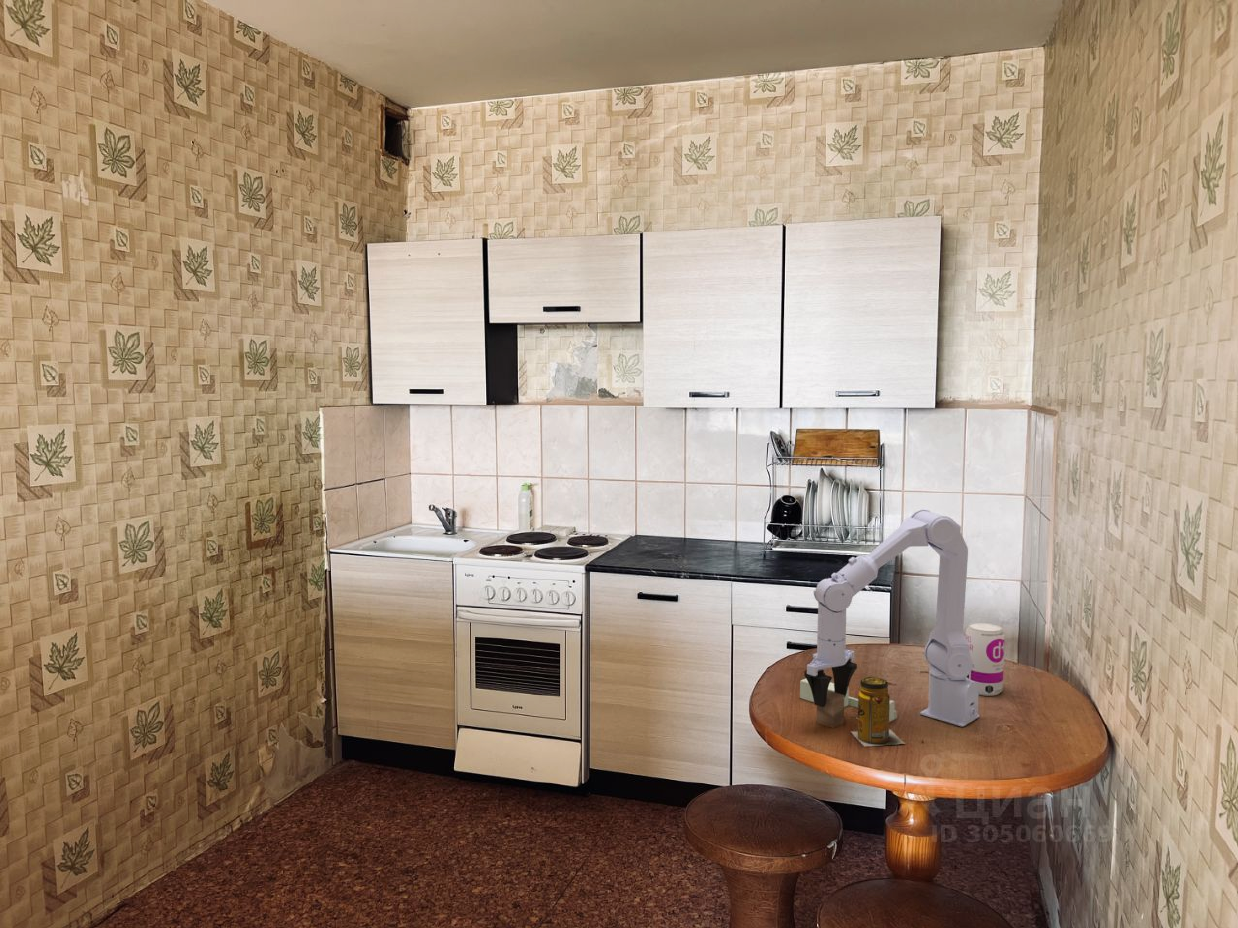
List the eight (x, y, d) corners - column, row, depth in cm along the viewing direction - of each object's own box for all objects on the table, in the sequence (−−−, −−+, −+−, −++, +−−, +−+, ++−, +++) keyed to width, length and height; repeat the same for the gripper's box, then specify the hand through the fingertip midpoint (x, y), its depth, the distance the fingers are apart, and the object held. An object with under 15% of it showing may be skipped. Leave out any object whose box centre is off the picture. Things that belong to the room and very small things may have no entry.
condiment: (850, 732, 175) (851, 675, 174) (890, 730, 176) (891, 673, 175) (863, 747, 168) (865, 687, 167) (905, 745, 169) (907, 686, 168)
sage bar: (896, 718, 182) (897, 699, 182) (884, 724, 179) (884, 706, 178) (812, 692, 197) (813, 675, 197) (799, 697, 194) (800, 680, 193)
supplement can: (1010, 693, 195) (1013, 629, 194) (982, 698, 192) (984, 633, 191) (983, 681, 203) (985, 619, 201) (956, 686, 200) (958, 623, 198)
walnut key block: (843, 722, 180) (844, 694, 179) (833, 728, 177) (833, 699, 177) (827, 717, 183) (827, 690, 182) (816, 722, 180) (816, 694, 179)
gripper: (834, 626, 186) (833, 687, 187) (794, 640, 176) (793, 704, 177) (863, 633, 181) (861, 695, 182) (824, 648, 171) (822, 714, 172)
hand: (830, 700), depth 179 cm, fingers open, 7 cm apart
